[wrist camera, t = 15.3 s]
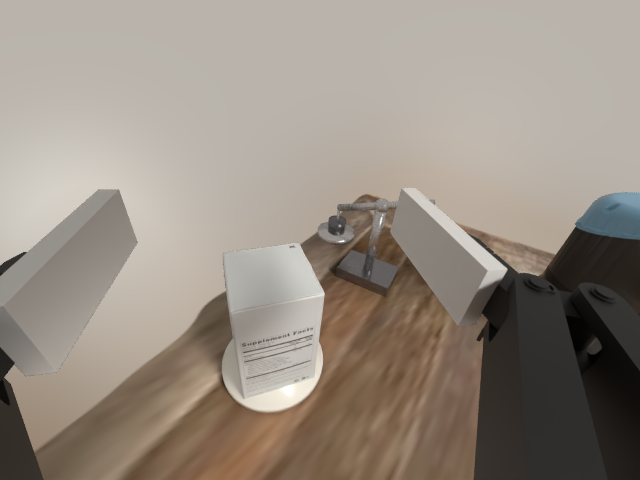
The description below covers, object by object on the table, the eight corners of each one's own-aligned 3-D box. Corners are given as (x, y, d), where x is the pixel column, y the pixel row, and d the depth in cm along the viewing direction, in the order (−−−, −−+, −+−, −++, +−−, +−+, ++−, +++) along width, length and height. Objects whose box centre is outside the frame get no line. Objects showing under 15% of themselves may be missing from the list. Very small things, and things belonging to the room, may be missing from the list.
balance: (427, 287, 52) (462, 198, 42) (419, 311, 47) (457, 216, 37) (325, 247, 60) (334, 165, 50) (308, 264, 55) (314, 176, 45)
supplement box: (233, 337, 38) (220, 250, 30) (296, 322, 41) (299, 239, 33) (241, 402, 31) (226, 312, 23) (316, 379, 34) (327, 292, 26)
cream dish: (338, 349, 39) (339, 343, 39) (285, 439, 30) (285, 433, 29) (266, 310, 44) (265, 305, 44) (200, 377, 35) (198, 371, 34)
